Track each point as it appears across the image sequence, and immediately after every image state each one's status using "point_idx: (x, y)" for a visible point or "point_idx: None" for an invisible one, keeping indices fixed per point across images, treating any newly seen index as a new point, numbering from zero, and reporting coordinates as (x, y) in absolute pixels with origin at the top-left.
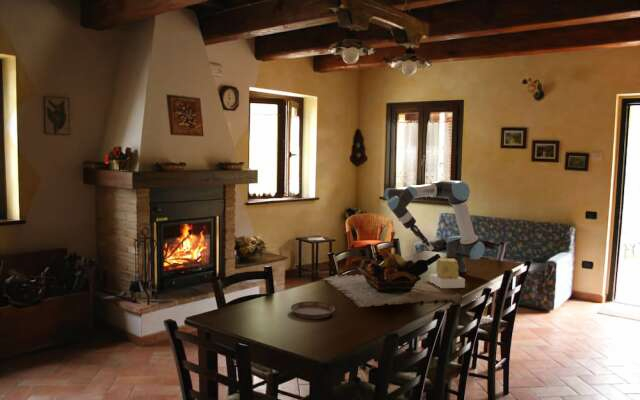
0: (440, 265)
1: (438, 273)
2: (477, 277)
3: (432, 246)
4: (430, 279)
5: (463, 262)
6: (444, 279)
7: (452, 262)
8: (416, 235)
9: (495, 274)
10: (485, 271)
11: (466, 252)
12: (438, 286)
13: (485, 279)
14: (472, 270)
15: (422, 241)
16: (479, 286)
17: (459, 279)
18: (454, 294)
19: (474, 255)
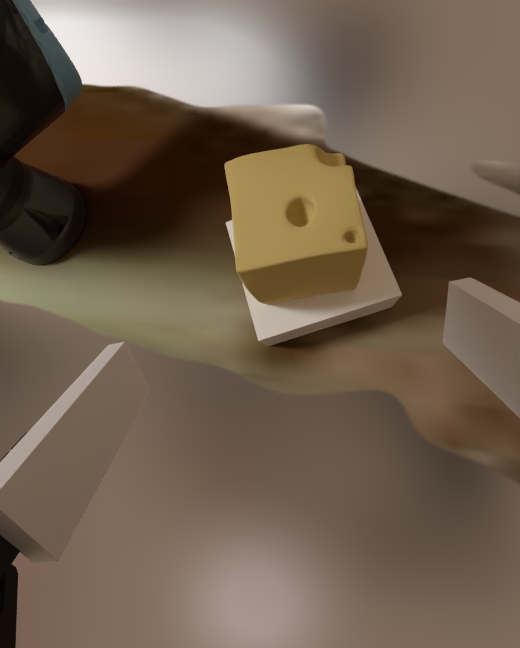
0: (323, 270)
1: (295, 297)
2: (154, 148)
3: (500, 293)
4: (270, 342)
5: (35, 168)
6: (389, 275)
7: (352, 174)
8: (10, 622)
9: (105, 92)
10: (64, 122)
11: (36, 99)
12: (365, 315)
13: (183, 122)
14: (50, 162)
15: (117, 415)
16: (308, 143)
17: (360, 199)
18: (517, 252)
19: (76, 70)
